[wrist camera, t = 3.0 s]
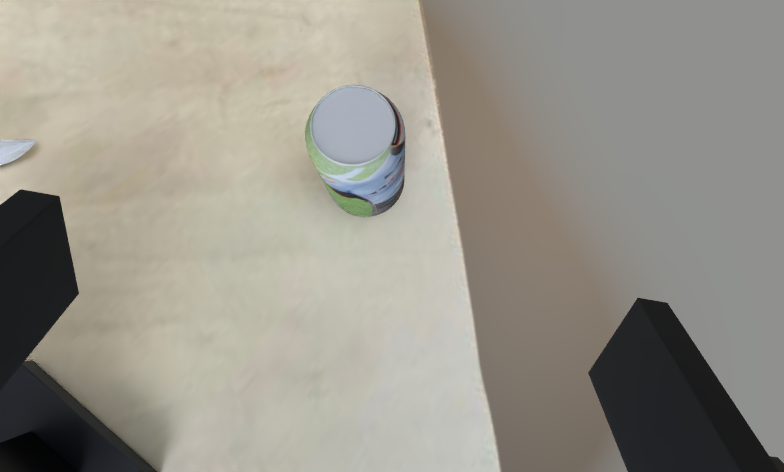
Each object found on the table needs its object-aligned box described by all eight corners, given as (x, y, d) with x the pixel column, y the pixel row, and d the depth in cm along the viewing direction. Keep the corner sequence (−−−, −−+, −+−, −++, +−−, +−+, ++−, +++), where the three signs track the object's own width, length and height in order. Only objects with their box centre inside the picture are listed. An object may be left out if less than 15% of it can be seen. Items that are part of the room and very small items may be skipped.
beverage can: (405, 216, 40) (439, 172, 28) (313, 223, 39) (308, 181, 27) (396, 142, 41) (426, 70, 29) (306, 147, 40) (299, 74, 28)
